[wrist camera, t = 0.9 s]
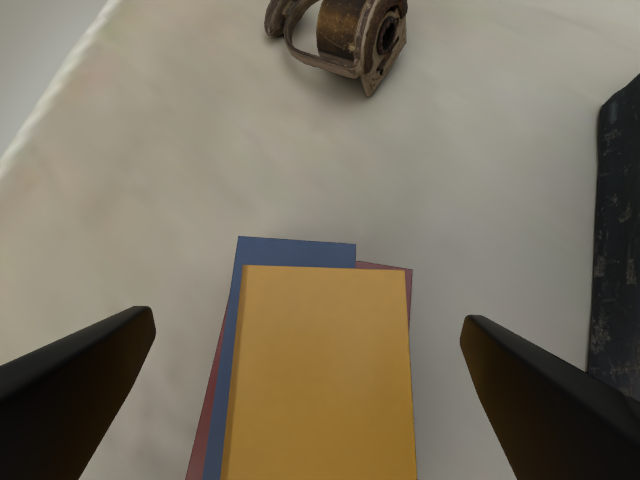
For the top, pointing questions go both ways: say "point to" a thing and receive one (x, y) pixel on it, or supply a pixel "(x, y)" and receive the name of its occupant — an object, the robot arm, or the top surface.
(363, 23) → the brown round dial piece
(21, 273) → the top surface
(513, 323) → the top surface
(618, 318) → the tablet
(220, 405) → the middle book
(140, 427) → the top surface
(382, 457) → the top book
